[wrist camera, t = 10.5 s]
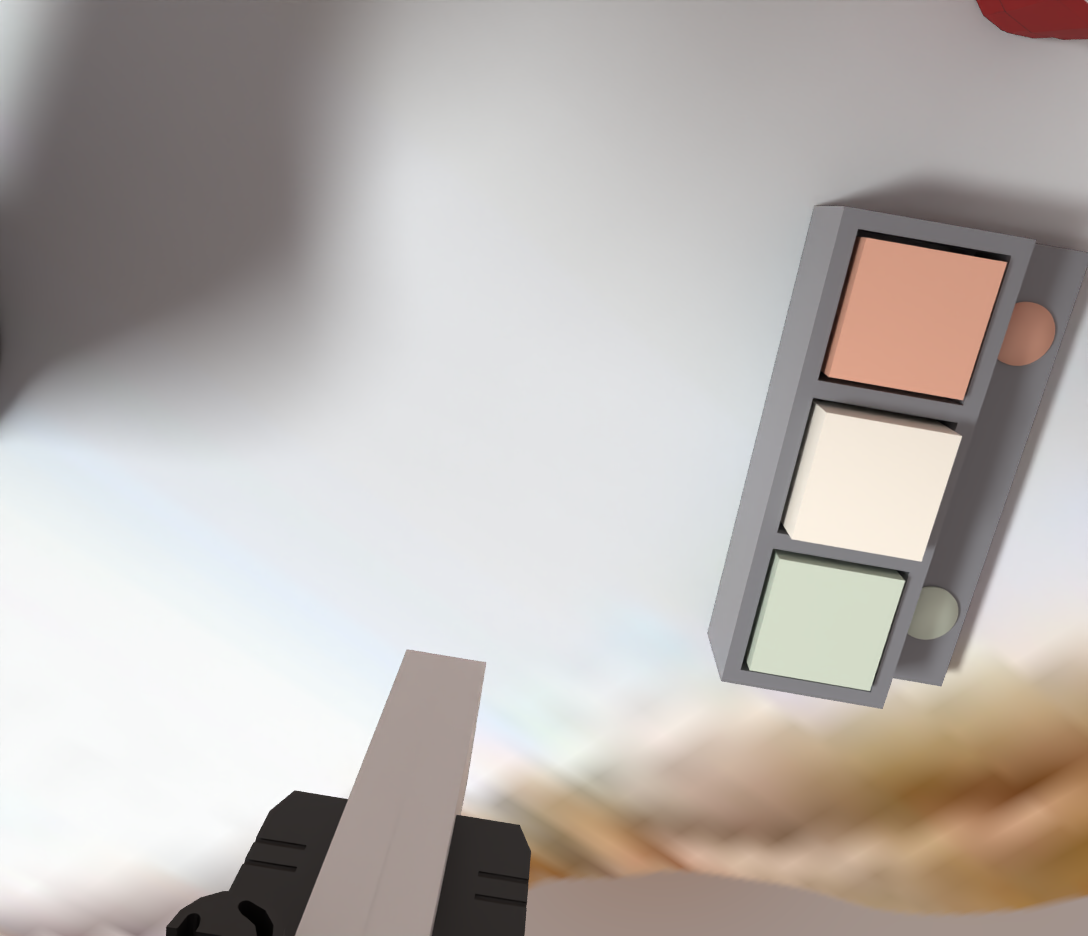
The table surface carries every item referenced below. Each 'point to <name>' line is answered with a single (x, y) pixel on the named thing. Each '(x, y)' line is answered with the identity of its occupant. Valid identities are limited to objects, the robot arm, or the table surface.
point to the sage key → (823, 619)
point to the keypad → (980, 418)
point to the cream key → (869, 479)
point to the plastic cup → (1039, 17)
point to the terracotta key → (911, 317)
